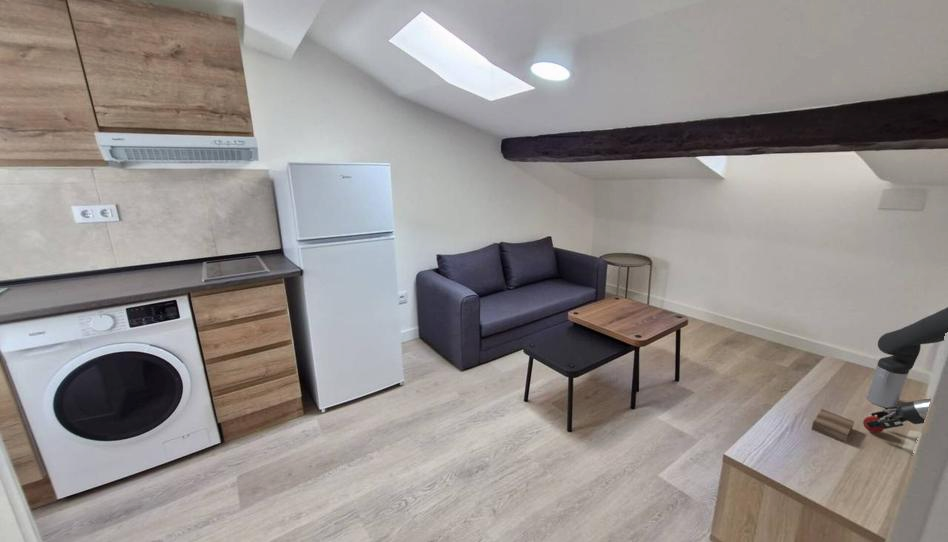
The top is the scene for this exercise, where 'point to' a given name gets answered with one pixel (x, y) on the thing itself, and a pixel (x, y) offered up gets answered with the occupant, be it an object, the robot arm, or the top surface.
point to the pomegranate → (874, 430)
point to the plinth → (832, 425)
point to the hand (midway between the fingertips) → (870, 420)
